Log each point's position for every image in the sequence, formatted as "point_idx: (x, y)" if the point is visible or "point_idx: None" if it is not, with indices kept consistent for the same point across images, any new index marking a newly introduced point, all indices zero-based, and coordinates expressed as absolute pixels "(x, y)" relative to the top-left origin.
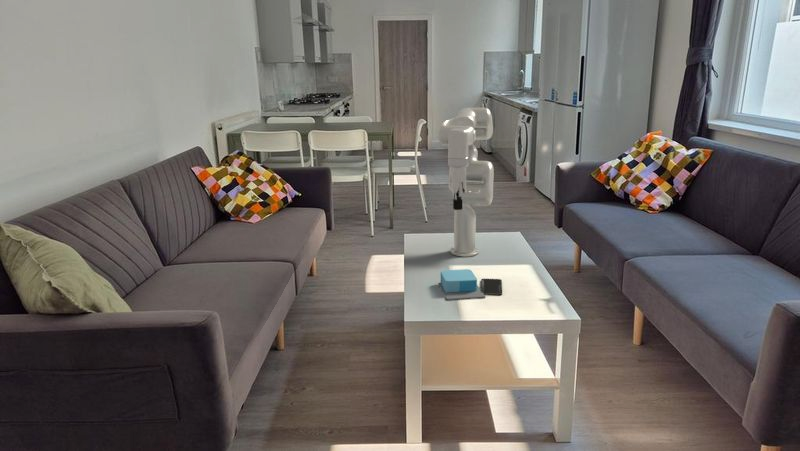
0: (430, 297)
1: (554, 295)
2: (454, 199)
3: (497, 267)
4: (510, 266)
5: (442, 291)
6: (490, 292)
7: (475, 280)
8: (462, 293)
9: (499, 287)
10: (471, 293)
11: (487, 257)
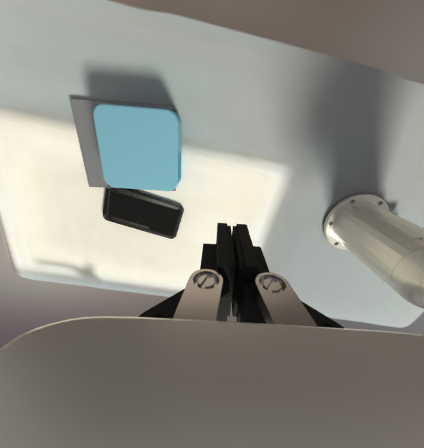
0: (88, 59)
1: (106, 285)
2: (246, 271)
3: None
4: None
5: (122, 102)
6: (110, 201)
7: (105, 181)
8: None
9: (135, 224)
10: None
11: (304, 253)
